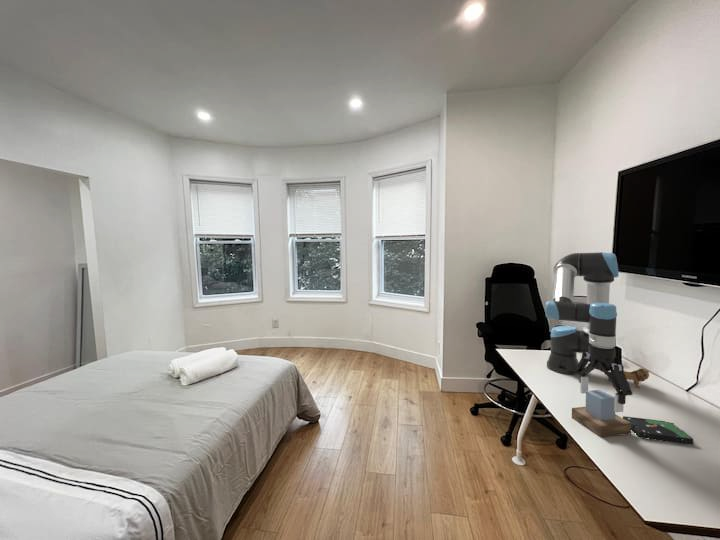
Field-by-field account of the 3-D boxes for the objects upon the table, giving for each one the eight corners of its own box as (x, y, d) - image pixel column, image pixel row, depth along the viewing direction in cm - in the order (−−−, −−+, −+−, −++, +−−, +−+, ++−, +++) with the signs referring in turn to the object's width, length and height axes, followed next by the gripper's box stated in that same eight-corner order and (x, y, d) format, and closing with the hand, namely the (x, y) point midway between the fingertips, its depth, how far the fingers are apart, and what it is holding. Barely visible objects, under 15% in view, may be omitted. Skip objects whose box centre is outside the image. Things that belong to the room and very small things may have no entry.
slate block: (585, 411, 110) (585, 391, 109) (599, 410, 111) (600, 389, 110) (600, 420, 104) (601, 399, 103) (615, 418, 105) (615, 397, 104)
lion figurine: (646, 385, 137) (647, 367, 136) (650, 390, 132) (651, 371, 132) (606, 379, 145) (607, 361, 144) (608, 383, 140) (609, 365, 140)
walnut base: (571, 417, 113) (571, 407, 112) (599, 415, 114) (599, 405, 114) (600, 437, 101) (600, 426, 101) (630, 433, 102) (631, 423, 102)
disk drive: (638, 439, 100) (694, 446, 96) (639, 432, 100) (694, 438, 95) (621, 422, 110) (671, 428, 105) (621, 415, 110) (671, 420, 105)
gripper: (564, 336, 117) (563, 386, 119) (628, 358, 93) (626, 421, 94) (581, 335, 118) (580, 385, 120) (648, 356, 94) (646, 419, 95)
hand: (600, 401), depth 107 cm, fingers open, 13 cm apart
